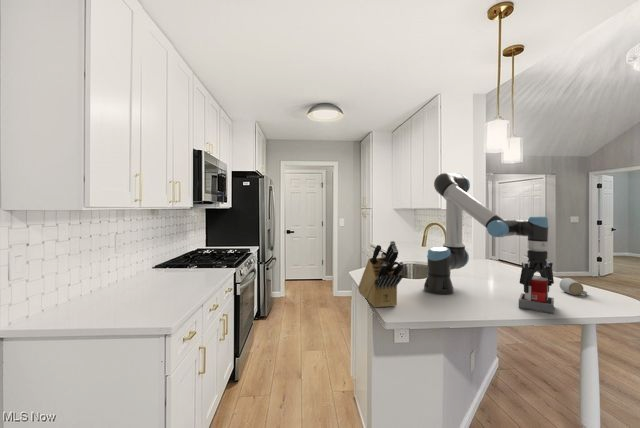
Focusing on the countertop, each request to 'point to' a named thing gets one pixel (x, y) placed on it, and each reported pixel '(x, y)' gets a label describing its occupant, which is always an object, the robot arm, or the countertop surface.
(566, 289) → the ceramic mug
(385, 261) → the knife block
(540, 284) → the canned food
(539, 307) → the tray
